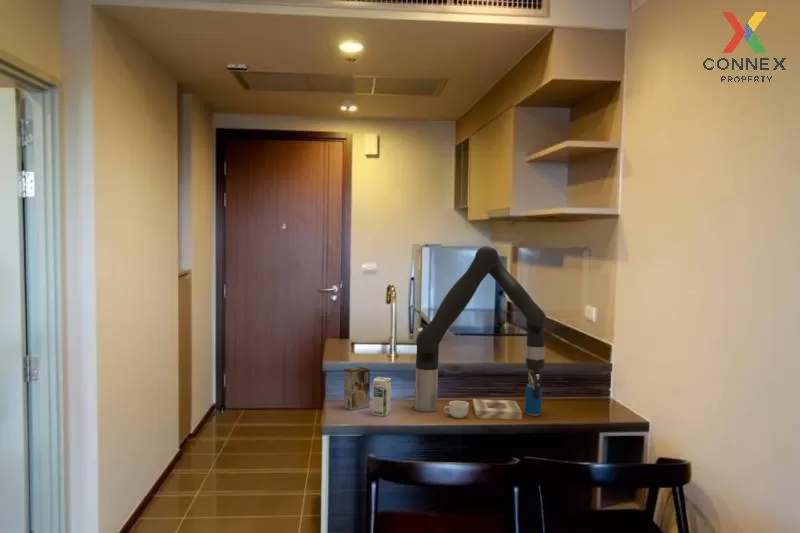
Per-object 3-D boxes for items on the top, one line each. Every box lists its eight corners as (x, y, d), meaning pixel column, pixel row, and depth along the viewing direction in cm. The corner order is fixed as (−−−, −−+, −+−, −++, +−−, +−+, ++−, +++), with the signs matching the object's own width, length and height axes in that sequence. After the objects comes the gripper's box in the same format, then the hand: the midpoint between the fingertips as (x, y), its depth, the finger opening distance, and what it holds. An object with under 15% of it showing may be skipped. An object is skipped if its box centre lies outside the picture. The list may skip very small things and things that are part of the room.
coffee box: (361, 403, 247) (361, 366, 247) (369, 407, 242) (370, 369, 242) (343, 407, 242) (343, 369, 241) (351, 410, 237) (352, 372, 236)
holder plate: (476, 417, 231) (476, 410, 231) (472, 406, 247) (473, 399, 247) (521, 419, 231) (521, 412, 230) (515, 407, 246) (515, 400, 246)
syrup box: (371, 415, 232) (372, 379, 231) (377, 411, 237) (378, 376, 237) (385, 416, 230) (386, 380, 229) (390, 412, 236) (391, 377, 235)
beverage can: (541, 417, 234) (542, 387, 234) (525, 415, 236) (526, 386, 235) (540, 412, 241) (541, 383, 240) (524, 411, 242) (525, 382, 241)
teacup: (464, 413, 237) (464, 400, 237) (471, 419, 230) (471, 405, 230) (441, 414, 235) (441, 401, 235) (446, 420, 228) (447, 406, 227)
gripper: (522, 353, 244) (522, 391, 245) (529, 360, 230) (528, 400, 231) (540, 353, 244) (539, 391, 245) (548, 360, 230) (547, 401, 231)
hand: (534, 395), depth 238 cm, fingers open, 8 cm apart
